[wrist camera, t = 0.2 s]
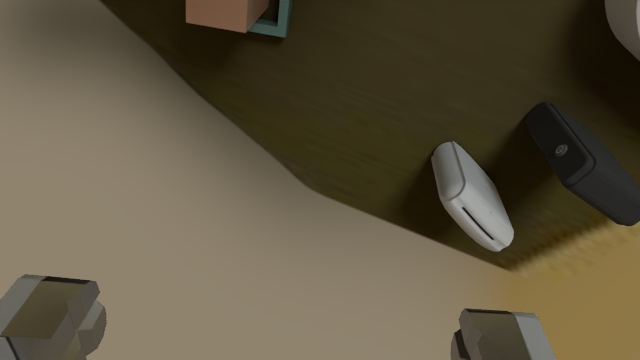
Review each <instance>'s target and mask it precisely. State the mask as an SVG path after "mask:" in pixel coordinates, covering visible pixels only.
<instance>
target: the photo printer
mask: <svg viewBox="0 0 640 360" xmlns="http://www.w3.org/2000/svg"><path fill="white" fill-rule="evenodd" d="M431 161H432V165H433V170H434V174H435V179H436V183H437V188H438V193H439V197H440V200H441V202H442V204H443V206H444V208H445V209H446V210H447V212H448V213H449V214H450V215H451V217H452V218H453V219H454V220H455V221H456V222H457V224H458V225H459V226H460V227H461V228H462V229H463V230H464V231H465V232H466V233H467V234H468V235H469V236H470V237H471V238H472V239H474V240H475V241H476V242H477V243H479V244H480V245H482V246H483V247H485V248H487V249H489V250H491V251H497V252H498V251H500V250H501V249H503V248H504V247H507V246H509V245H510V243H511V241H512V239H513V236H514V231H513V228H512V226H511V223H510V221H509V218H508V216H507V213H506V211H505V208H504V206H503V203H502V201H501V199H500V196H499V194H498V191H497V189H496V187H495V185H494V183H493V182H492V181H491V179H490V178H489V177H488V176H487V175H486V173H485V172H484V171H483V170H482V169H481V168H480V166H479V165H478V164H477V163H476V162H475V161H474V160H473V159H472V158H471V157H470V156H469V155H468V154H467V153H466V152H465V151H464V150H463V149H462V148H461V147H460V146H459V145H458V144H457V143H455V142H454V141H453V142H446V143H443V144H441V145H439V146H438V147H437V148H436V149H435V151H434V153H433V156H431Z"/></svg>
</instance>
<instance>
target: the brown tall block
mask: <svg viewBox="0 0 640 360" xmlns="http://www.w3.org/2000/svg"><path fill="white" fill-rule="evenodd" d="M268 7H269V0H186V23H192V24H198V25H203V26H209V27H215V28H220V29H226V30H232V31H237V32H243V33H246V32H247V31H248V30H249V29H250V27H251V26H252V25H253V24H254V23H255V22H256V21H257V19H258V18H259V17H260V16H261V15H262V14H263V13H264V11H265V10H266V9H267V8H268Z"/></svg>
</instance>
